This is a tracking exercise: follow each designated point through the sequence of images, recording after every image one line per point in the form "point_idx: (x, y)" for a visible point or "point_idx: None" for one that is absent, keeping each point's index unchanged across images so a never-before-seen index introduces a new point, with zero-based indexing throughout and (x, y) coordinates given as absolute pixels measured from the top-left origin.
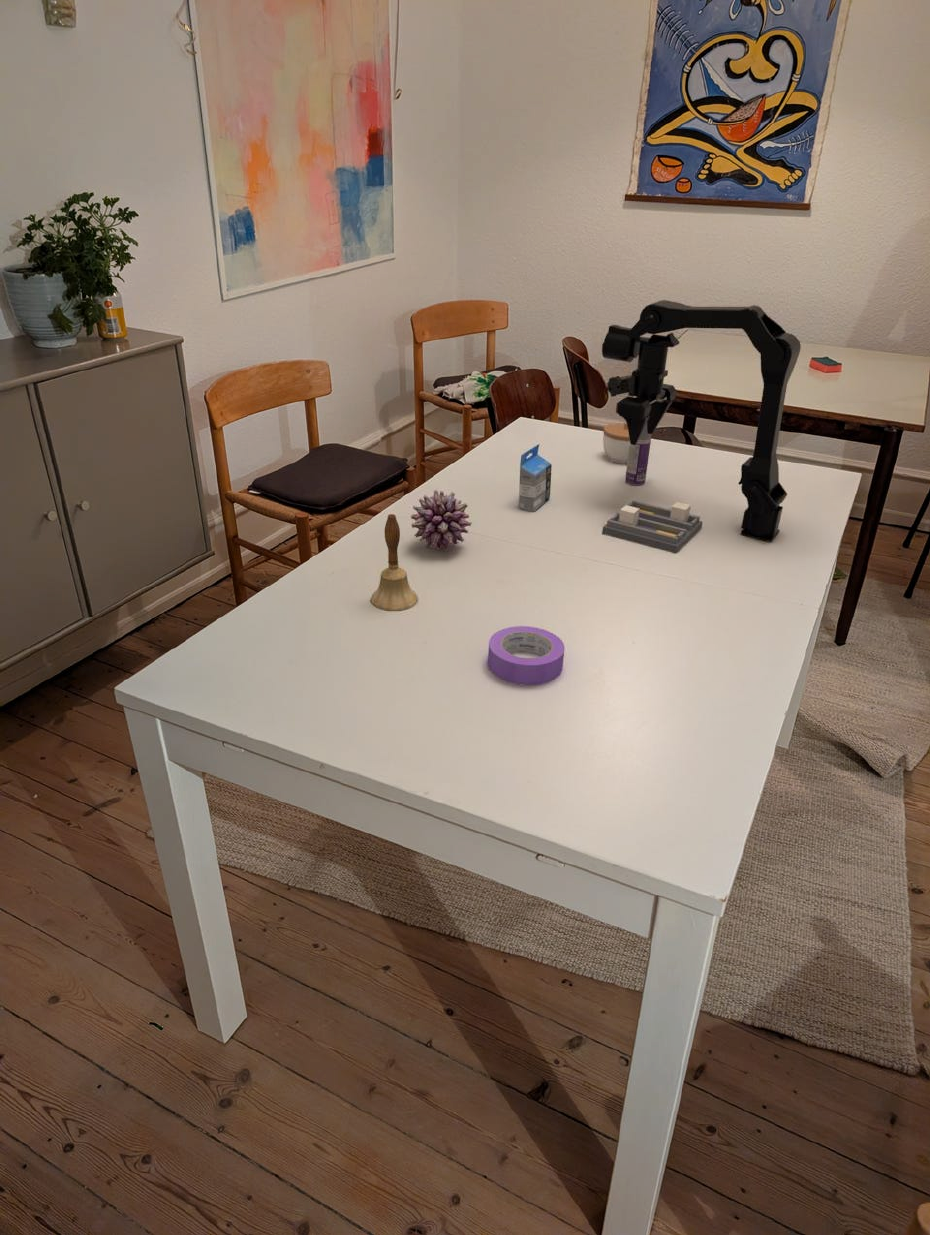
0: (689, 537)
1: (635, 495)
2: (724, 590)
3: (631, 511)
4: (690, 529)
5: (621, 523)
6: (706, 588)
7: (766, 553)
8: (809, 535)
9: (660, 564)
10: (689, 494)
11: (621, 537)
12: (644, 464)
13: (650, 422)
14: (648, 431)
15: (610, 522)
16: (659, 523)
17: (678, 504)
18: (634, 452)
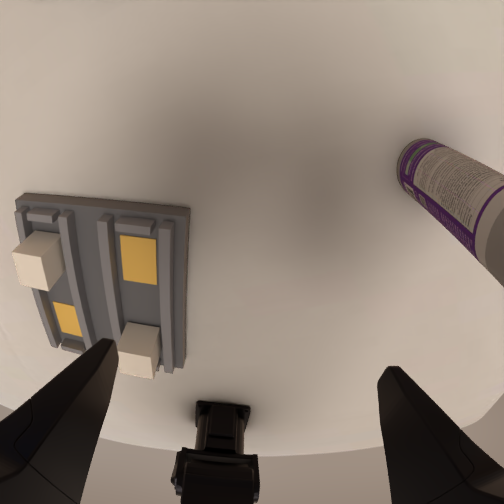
0: None
1: (320, 190)
2: (28, 377)
3: (23, 277)
4: None
5: None
6: (15, 362)
7: (156, 419)
8: (254, 445)
9: (13, 314)
10: (376, 308)
11: None
12: (438, 220)
13: (408, 429)
14: (389, 378)
15: (17, 218)
16: (80, 315)
17: (138, 360)
18: (458, 198)
